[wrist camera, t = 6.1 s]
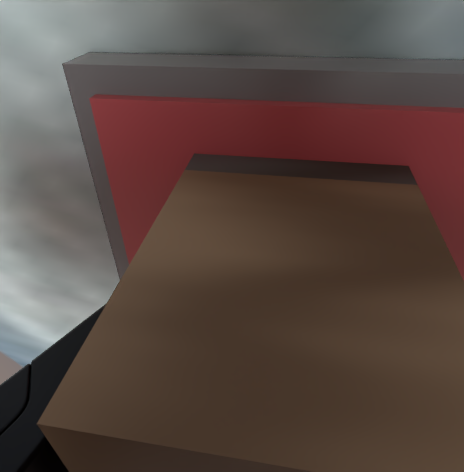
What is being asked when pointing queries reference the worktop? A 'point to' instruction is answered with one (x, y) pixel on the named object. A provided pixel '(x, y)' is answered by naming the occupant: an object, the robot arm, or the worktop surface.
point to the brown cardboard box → (275, 331)
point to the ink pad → (263, 125)
